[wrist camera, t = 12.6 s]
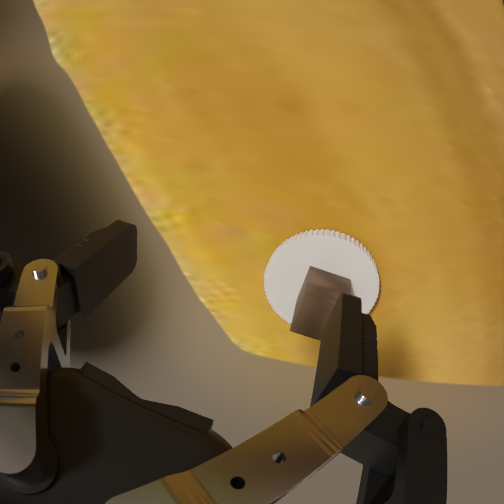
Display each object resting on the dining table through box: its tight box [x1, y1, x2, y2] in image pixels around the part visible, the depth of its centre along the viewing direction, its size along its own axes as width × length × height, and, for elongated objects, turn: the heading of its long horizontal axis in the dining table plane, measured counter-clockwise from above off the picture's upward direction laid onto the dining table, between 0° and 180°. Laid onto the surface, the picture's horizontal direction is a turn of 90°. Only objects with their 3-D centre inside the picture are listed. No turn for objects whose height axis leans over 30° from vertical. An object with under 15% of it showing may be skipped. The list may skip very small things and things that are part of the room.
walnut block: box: [290, 266, 351, 341], centre depth 35 cm, size 5×5×6 cm
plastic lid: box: [264, 229, 380, 324], centre depth 39 cm, size 14×14×2 cm
